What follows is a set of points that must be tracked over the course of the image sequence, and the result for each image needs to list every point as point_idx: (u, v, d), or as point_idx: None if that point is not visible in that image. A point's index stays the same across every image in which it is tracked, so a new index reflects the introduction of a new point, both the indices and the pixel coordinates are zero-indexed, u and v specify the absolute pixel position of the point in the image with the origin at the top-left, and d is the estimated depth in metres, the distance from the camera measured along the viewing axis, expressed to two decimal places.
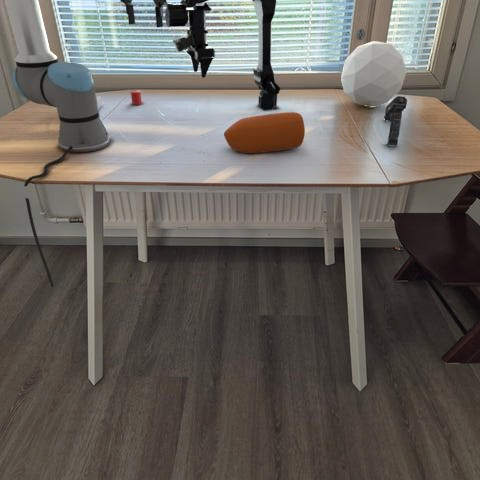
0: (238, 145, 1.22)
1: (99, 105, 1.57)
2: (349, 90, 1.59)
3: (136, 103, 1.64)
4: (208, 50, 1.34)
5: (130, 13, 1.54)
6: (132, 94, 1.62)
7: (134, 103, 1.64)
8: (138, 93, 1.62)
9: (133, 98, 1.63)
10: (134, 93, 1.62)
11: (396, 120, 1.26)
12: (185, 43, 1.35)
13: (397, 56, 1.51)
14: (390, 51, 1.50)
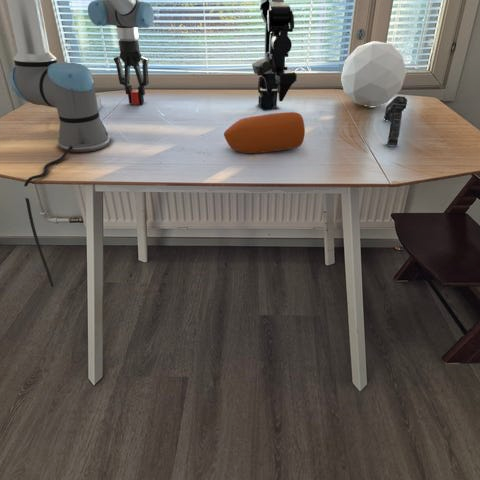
0: (238, 145, 1.22)
1: (99, 105, 1.57)
2: (349, 90, 1.59)
3: (136, 103, 1.64)
4: (291, 74, 1.31)
5: (130, 93, 1.63)
6: (132, 94, 1.62)
7: (134, 103, 1.64)
8: (138, 93, 1.62)
9: (133, 98, 1.63)
10: (134, 93, 1.61)
11: (396, 120, 1.26)
12: (267, 67, 1.32)
13: (397, 56, 1.51)
14: (390, 51, 1.50)
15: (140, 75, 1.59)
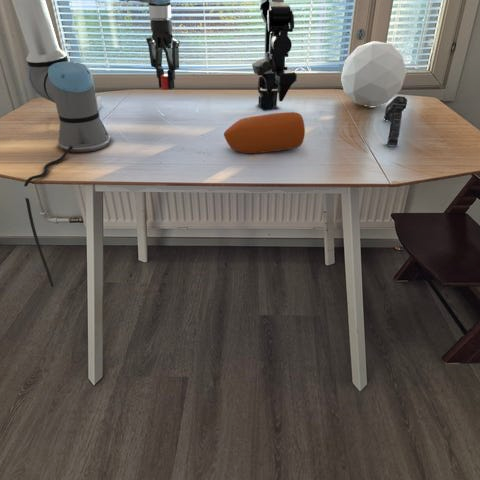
0: (238, 145, 1.22)
1: (99, 105, 1.57)
2: (349, 90, 1.59)
3: (164, 88, 1.55)
4: (291, 74, 1.31)
5: None
6: (161, 78, 1.53)
7: (163, 87, 1.55)
8: (167, 77, 1.53)
9: (162, 82, 1.54)
10: (163, 77, 1.52)
11: (396, 120, 1.26)
12: (267, 67, 1.32)
13: (397, 56, 1.51)
14: (390, 51, 1.50)
15: (170, 58, 1.49)
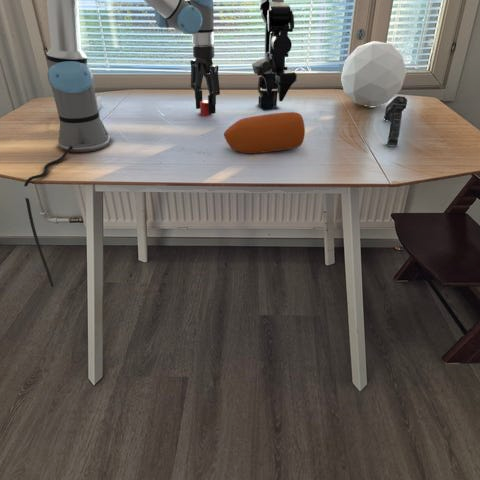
0: (238, 145, 1.22)
1: (99, 105, 1.57)
2: (349, 90, 1.59)
3: (202, 114, 1.54)
4: (291, 74, 1.31)
5: (198, 99, 1.54)
6: (200, 104, 1.53)
7: (201, 113, 1.54)
8: (205, 104, 1.51)
9: (200, 108, 1.53)
10: (201, 103, 1.52)
11: (396, 120, 1.26)
12: (267, 67, 1.32)
13: (397, 56, 1.51)
14: (390, 51, 1.50)
15: (211, 83, 1.46)
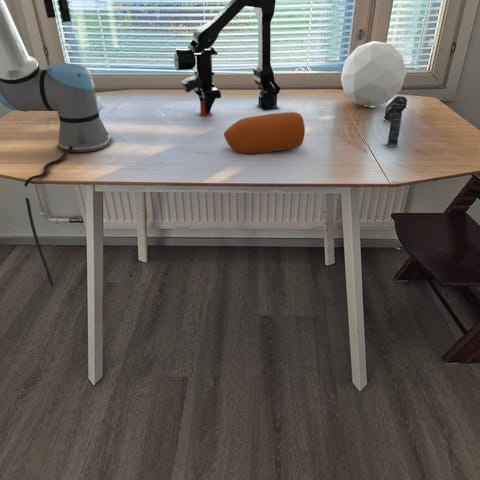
0: (238, 145, 1.22)
1: (99, 105, 1.57)
2: (349, 90, 1.59)
3: (202, 114, 1.54)
4: (214, 92, 1.43)
5: (47, 5, 1.41)
6: (200, 104, 1.53)
7: (201, 113, 1.54)
8: None
9: (200, 108, 1.53)
10: (201, 103, 1.52)
11: (396, 120, 1.26)
12: (193, 85, 1.43)
13: (397, 56, 1.51)
14: (390, 51, 1.50)
15: None
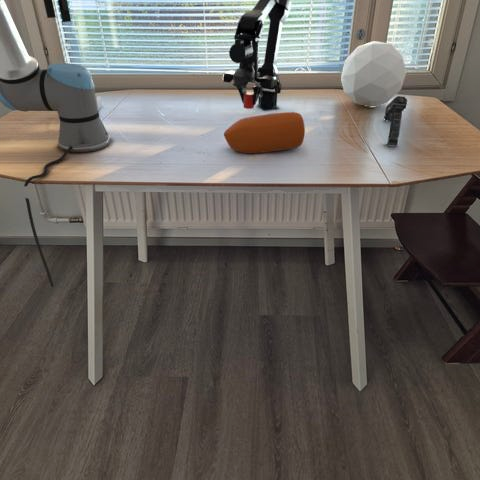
0: (238, 145, 1.22)
1: (99, 105, 1.57)
2: (349, 90, 1.59)
3: (249, 107, 1.45)
4: (274, 79, 1.38)
5: (47, 5, 1.41)
6: (246, 96, 1.43)
7: (247, 107, 1.45)
8: None
9: (246, 101, 1.44)
10: (248, 95, 1.43)
11: (396, 120, 1.26)
12: (253, 76, 1.34)
13: (397, 56, 1.51)
14: (390, 51, 1.50)
15: None
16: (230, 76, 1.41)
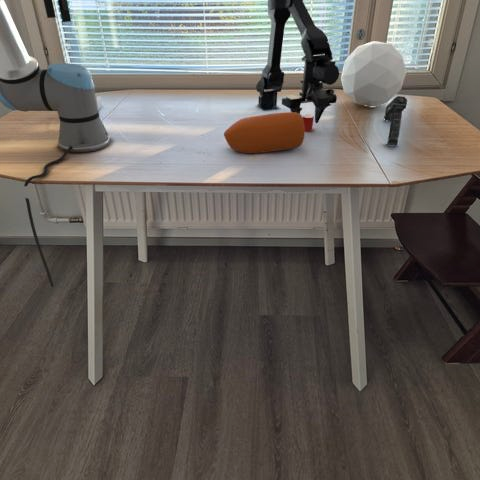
0: (238, 145, 1.22)
1: (99, 105, 1.57)
2: (349, 90, 1.59)
3: (311, 129, 1.42)
4: None
5: (47, 5, 1.41)
6: (310, 120, 1.39)
7: (310, 129, 1.41)
8: None
9: (310, 124, 1.40)
10: (312, 118, 1.39)
11: (396, 120, 1.26)
12: None
13: (397, 56, 1.51)
14: (390, 51, 1.50)
15: None
16: (299, 101, 1.32)
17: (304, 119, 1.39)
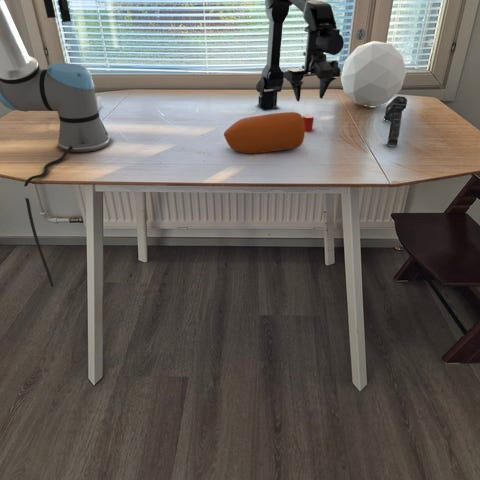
0: (238, 145, 1.22)
1: (99, 105, 1.57)
2: (349, 90, 1.59)
3: (311, 129, 1.42)
4: None
5: (47, 5, 1.41)
6: (310, 120, 1.39)
7: (310, 129, 1.41)
8: None
9: (310, 124, 1.40)
10: (312, 118, 1.39)
11: (396, 120, 1.26)
12: None
13: (397, 56, 1.51)
14: (390, 51, 1.50)
15: None
16: (301, 73, 1.27)
17: (304, 119, 1.39)
